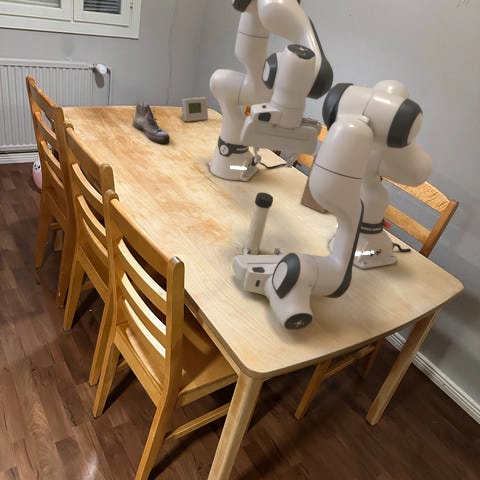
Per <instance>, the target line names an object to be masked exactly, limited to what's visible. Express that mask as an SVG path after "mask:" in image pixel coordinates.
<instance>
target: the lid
mask: <svg viewBox="0 0 480 480" xmlns="http://www.w3.org/2000/svg"><path fill="white" fill-rule="evenodd" d="M273 201H274V197H273V195H272V194H270V193H268V192H258V193H256V195H255V199H254V205H255V204H256V205H257V206H259V207H262V208H270V209H271V207H272V206H273Z"/></svg>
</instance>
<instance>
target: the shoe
mask: <svg viewBox="0 0 480 480" xmlns="http://www.w3.org/2000/svg"><path fill="white" fill-rule="evenodd" d="M153 112H154V113H157V111H156V110H155V109H152V108H151V107H150V104H148V103H144V101H143V102H142V103H139V102H138V101H137V102H136V105H135V110H134V113H133V117H132V125H133V126H134V127H135V128H137V129H139V131H142V132H144V133H145V134H146V137H147V138H148V139H149V140H150V141H152V142H155V143H158V144H164V145H166V144H169V143H170V138H171V137H170V135H169V133H168V132H167V131H165V129H163V128H162V127H160V126H159V125H158V122H157V120H158V119H157V118H155V116H154V113H153Z"/></svg>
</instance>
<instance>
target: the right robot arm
mask: <svg viewBox="0 0 480 480" xmlns="http://www.w3.org/2000/svg"><path fill="white" fill-rule="evenodd" d="M423 114H424V111H423V110H422V107H421V106H420V104H418V102H415V101H414V100H413V99H410V95H409V91H408V89H407V87H406V85H404V84H403V82H400V81H399V80H395V79H384V80H380V81H379V82H377V83H376V84H374V85H373V86H372V87H369V86H368V87H367V86H362V85H355V84H354V83H351V82H338V83H336V84H335V85H334V86H332V87H331V89H330V90H329V91H328V92H327V93H326V96H325V98H324V100H323V104H322V108H321V116H322V121H323V123H324V125H325V126H326V131H327V132H326V134H325V137H324V138H323V139H322V140H323V141H322V143H321V144H320V147H319V149H318V152H317V153H316V154H317V157H316V159H315V162H314V165H313V168H312V171H311V174H310V178H309V189H310V192H311V195H312V196H313V198H314V199H315V201H316V202H317V203H318V204H319V205H321V206H322V207H323V208H325V209H326V212H329V213H330V214H332V215H333V216H334V217H335V219H336V222H337V224H336V231H335V234H334V236H333V238H332V239H331V240H330V241H329V243H328V248H329V250H330V251H331V252H330V254H328V255H326V256H324V255H316V254H310V253H303V252H302V253H300V252H288V253H287V252H285V251H283V250H282V249H281V248H280V247H275V248H274V249H273V254H256V255H250V252H251V250H250V248H245V247H243V251H242V252H243V254H236V255H235V256H234V257H233V260H232V267H231V268H232V270H233V273H234V274H235V276H236V278H237V279H238V280H239V281H240V282H241V283H242V284H243V285H242V287H243V290H244V291H246V292H251V293H255V294H259V295H263V296H265V297H266V298H267V300H269V306H270V308H271V310H272V312H273V315H274V317H275V318H276V319H277V321H278V322H279V324H280V326H282V327H283V328H285V329H286V330H290V331H291V330H293V331H294V330H295V331H296V330H302V329H304V328H306V327H308V326H309V325H311V323H312V322H313V319H314V314H313V310H312V308H311V303H310V302H311V301H310V300H311V296H320V297H324V298H328V299H329V298H330V299H338V298H340V297H342V296H343V295H344V294H345V293H347V292H348V290H349V288H350V287H351V284H352V279H353V265H354V266H356V267H357V268H360V269H363V270H364V269H365V270H366V269H370V268H376V267H382V266H387V265H394V264H396V262H397V258H396V255H395V253H393V250H394V248H395V247H397V249H398V251H399V252H403V253H405V252H406V253H407V252H411V248H402V247H401V245H400V244H398V243H396V242H394V241H393V240H392V238H390V236H389V234H388V233H387V232H386V231H385V230H390V229H391V228H392V224H391V223H390V222H389V221H388V220H386V219H385V218H384V217H385V214H386V212H387V209H388V207H389V205H390V203H391V197H390V193H389V191H388V189H387V188H386V187H385V185H384V184H383V182H382V180H381V177H382V178H383V179H386V180H388V181H391V182H393V183H395V184H398V185H402V186H405V187H411V188H418V187H420V186H422V185H424V183H426V182H427V181H428V180H429V178H430V177H431V174H432V172H433V169H434V163H433V162H434V161H433V159H432V156H431V155H430V154H428V153H427V152H426V151H425V150H424V149H423V148H422V147H421V146H420V145H419V144H418V142H417V141H416V137H417V136H418V134H419V133H420V130H421V128H422V125H423ZM384 228H385V230H384Z"/></svg>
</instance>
